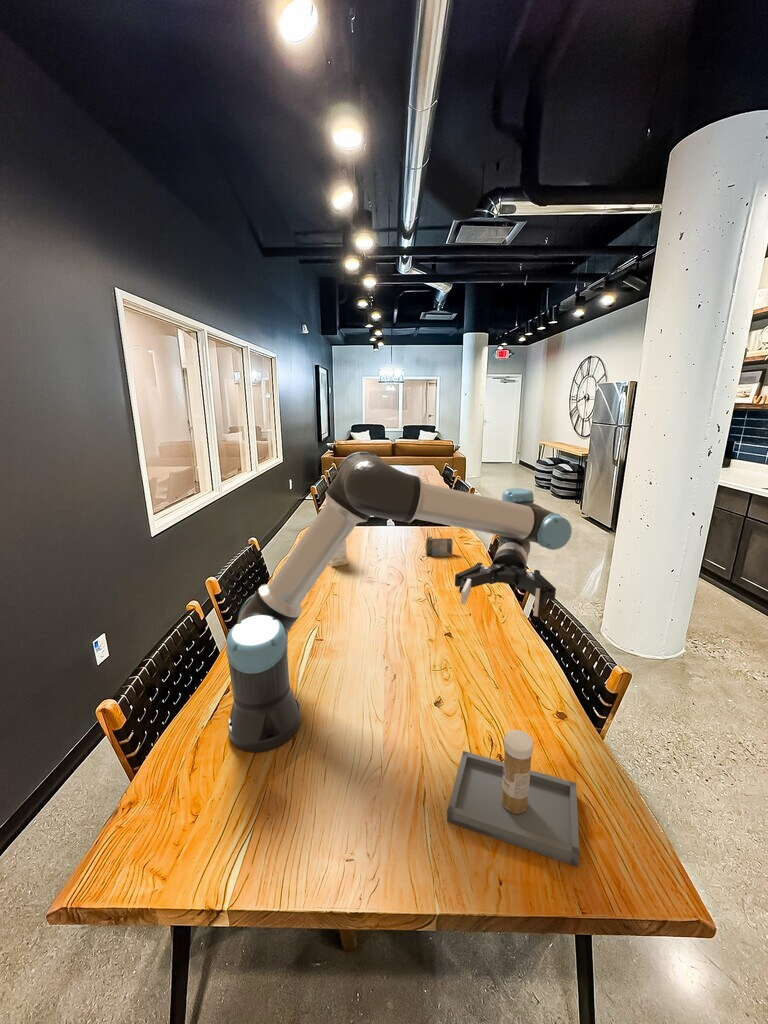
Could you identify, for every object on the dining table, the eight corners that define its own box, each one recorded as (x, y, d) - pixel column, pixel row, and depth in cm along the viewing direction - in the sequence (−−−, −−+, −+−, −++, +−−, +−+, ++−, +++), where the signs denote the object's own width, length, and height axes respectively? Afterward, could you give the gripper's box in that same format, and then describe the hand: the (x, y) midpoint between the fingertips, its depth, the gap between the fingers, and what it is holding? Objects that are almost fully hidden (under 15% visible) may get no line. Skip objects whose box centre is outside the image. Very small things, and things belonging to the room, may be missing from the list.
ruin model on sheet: (426, 557, 187) (426, 536, 184) (425, 554, 190) (426, 534, 187) (452, 557, 187) (453, 536, 184) (451, 554, 190) (452, 533, 187)
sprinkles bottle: (496, 792, 75) (500, 729, 72) (521, 789, 76) (526, 727, 72) (506, 817, 71) (511, 751, 67) (532, 813, 71) (538, 748, 68)
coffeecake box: (320, 555, 190) (318, 513, 185) (336, 553, 193) (334, 511, 187) (331, 567, 177) (329, 522, 171) (347, 564, 180) (345, 520, 174)
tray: (447, 821, 71) (447, 810, 71) (462, 761, 83) (463, 750, 82) (577, 867, 64) (579, 854, 64) (574, 794, 76) (576, 783, 75)
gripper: (565, 585, 97) (567, 633, 78) (456, 571, 106) (434, 610, 87) (568, 554, 95) (571, 595, 76) (457, 542, 104) (435, 576, 85)
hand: (498, 603), depth 82 cm, fingers open, 13 cm apart
